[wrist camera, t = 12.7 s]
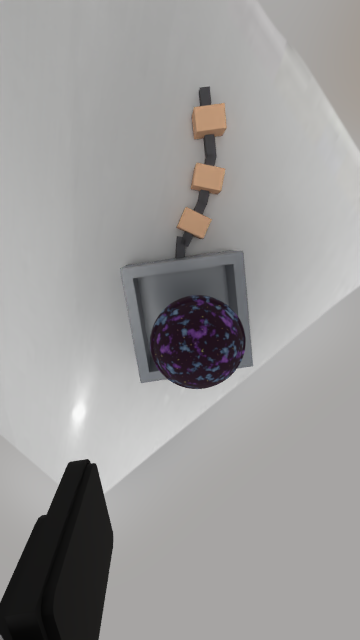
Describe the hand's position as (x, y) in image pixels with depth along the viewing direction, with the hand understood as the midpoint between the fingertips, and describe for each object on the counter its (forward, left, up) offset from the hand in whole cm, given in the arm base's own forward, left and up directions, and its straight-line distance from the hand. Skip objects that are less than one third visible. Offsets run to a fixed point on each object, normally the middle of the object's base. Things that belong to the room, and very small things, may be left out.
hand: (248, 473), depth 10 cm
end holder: (0, 0, -26) cm, 26 cm away
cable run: (-13, +3, -26) cm, 29 cm away
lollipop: (0, 0, -25) cm, 25 cm away
